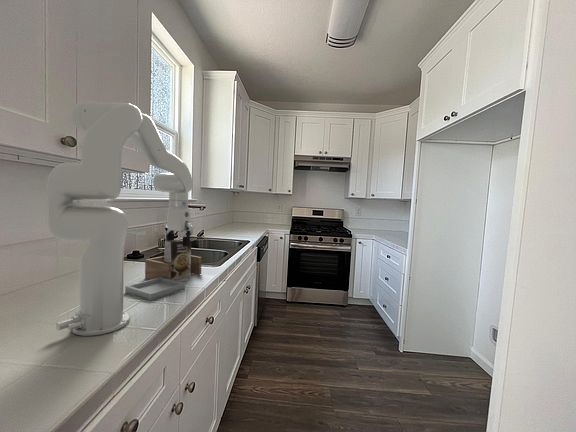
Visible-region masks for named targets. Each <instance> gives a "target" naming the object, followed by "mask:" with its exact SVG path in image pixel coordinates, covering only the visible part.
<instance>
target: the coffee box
mask: <svg viewBox="0 0 576 432" xmlns="http://www.w3.org/2000/svg"><path fill="white" fill-rule="evenodd" d="M191 255H192V239H190V245H189V246H183V238H181V239H174V240H168V241H167V240H164V254H163V256H164V263H168V264H171V275H170V280H174V281H177V280H182V279H186V278H191V274H192V273H191Z"/></svg>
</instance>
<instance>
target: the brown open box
mask: <svg viewBox="0 0 576 432" xmlns="http://www.w3.org/2000/svg"><path fill="white" fill-rule="evenodd" d="M144 261H145V263H144V265H145V266H144V278H145V280H151V279H155V278H159V277H162V278H166V279H170V275H171V264H168V263H164V255H163V256H157V257H152V258H145V260H144ZM202 261H203V259H202V256H197V255H192V254H191V273H190V274H192V273H193V274H192V275H196V274H197V275H196V276H201V275H202ZM200 274H201V275H200Z"/></svg>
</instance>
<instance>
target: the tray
mask: <svg viewBox="0 0 576 432" xmlns="http://www.w3.org/2000/svg"><path fill="white" fill-rule="evenodd" d="M124 287H125V290H124V291H125V292H124V294H127V295H131V296H133V297H137V298H140V299H142V300H146V301H148V302H152V301H155V300H159V299H161V298H164V297H167V296H171V295H173V294H176V293H178V292H179V293H180V292H182V291H185V290H186V283H185V282H180V281H177V280H170V279H166V278H162V277H159V278H155V279H151V280H149V279H146V280H143V281H140V282H137V283H133V284H129V285H125V286H124Z"/></svg>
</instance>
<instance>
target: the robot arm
mask: <svg viewBox="0 0 576 432" xmlns="http://www.w3.org/2000/svg"><path fill="white" fill-rule="evenodd" d="M70 117H71V121H72V123H73V124H74V126H75V127H76V129H78V130H79V131H80V132H81V133H83V134H84V135H83V138H82V143H81V155H80V162H64V163H60V164H58V165H56V166H55V167H54V168H53V169H52V170H51V171H50V172H49V175H48V178H47V183H46V184H47V185H46V197H47V200H46V201H47V222H48V223H47V224H48V229H49V231H50V233H51V234H52V236H53V237H54V238H55V239H58V240H60V241H63V242H64V241H65V242H74V243H75V242H77V243H78V242H81V243H88V245H87V246H86V247H85V249H84V251H83V252H82V254H81V256H80V258H79V259H80V260H79V310H77V311H76V312H74V316H72V317H70V319H69V318H68V319H64V320H61V321H57V322H56V324H55V328H56V331H60V330H61V331H62V330H65V329H67V330H69V331H71V330H72V332H73V333H74V334H75V335H78V336H85V337H87V336H88V337H90V336H99V335H103V334H109V333H112V332H115V331H117V330H120V329H122V328H124V327H125V326H126V325H128V324H129V322H130V320H131V319H130V317H131V315H130V314H129V313H128V312H126V311H124V255H125V254H124V252H125V244H126V243H125V242H126V237H127V232H128V228H129V220H128V216H127V215H126V213H125V212H124V211H122V210H121V209H120V208H116V207H113V206H108V205H84V201H94V202H95V201H98V202H100V201H101V202H102V201H103V202H107V201H112V200H115V199H117V198H118V197H119V196H120V194H121V191H122V156H123V155H122V154H123V153H122V152H123V148H124V144H125V143H126V141H129V142H130V141H131V142H132V143H133V145H134V146H135V148H136V150H137V151H138V153H139V155H140V156H141V158H142V160H143V162H145V163H146V164H148V165H149V166H152V167H155V168H157V169H160V170H164V171H167V172H162V173H161V172H160V173H158V174H156V175H155V176H154V178H153V179H152V183H153V186H154V188H155V189H156V191H158V192H162V193H168V210H167V211H168V212H167V217H166V222H164V223H163V226H164V230H165V232H166V233H165V234H166V241H168V240H175V233H174V232H179V233H181V234H182V235H183V236H182V239H183V246H189V245H190V240H191V236H192V234H193V231H194V230H195V229H194V228H195V227H194V225H192V216H191V210H190V208H189V193H190V192H191V191H192V189H193V187H194V181H193V178H192V173H191V172H190V170H189V168H188V166H187V164H186V163H185V162H184V161H183V160H182V159H180V158H179V157H177V156H176V155H175V154H174V153H172V152H170V151H169V150H168V149H167V147H166V145H165V143H164V142H163V139H162V137H161V134H160V132H159V130H158V128H157V127H156V124H155V122H154V120H153V119H152V118H151V117H150V116H149V115H147V114H146V113H142V112H141V110H140V109H139V107H137V106H136V105H134V104H131V103H127V102H114V101H113V102H112V101H110V102H109V101H108V102H107V101H106V102H105V101H101V102H100V101H82V102H77V103H76V104H75V105H74V106H73V107H72V109H71V112H70Z"/></svg>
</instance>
